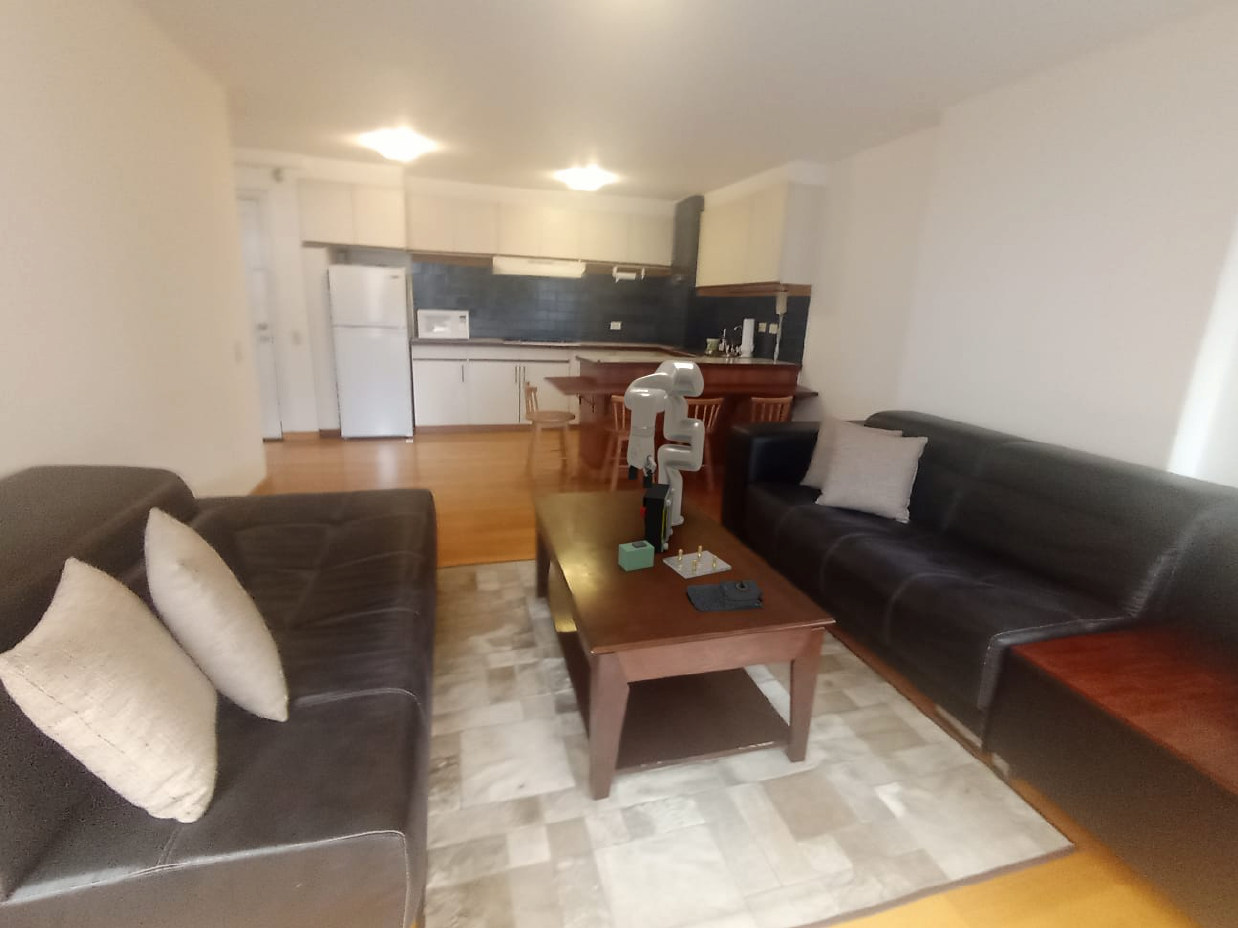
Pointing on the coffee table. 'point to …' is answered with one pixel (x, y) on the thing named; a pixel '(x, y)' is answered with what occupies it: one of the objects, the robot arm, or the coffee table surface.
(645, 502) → the electrical component
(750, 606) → the dark slate chunk
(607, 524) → the coffee table surface
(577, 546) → the coffee table surface
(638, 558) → the green block
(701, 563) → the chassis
